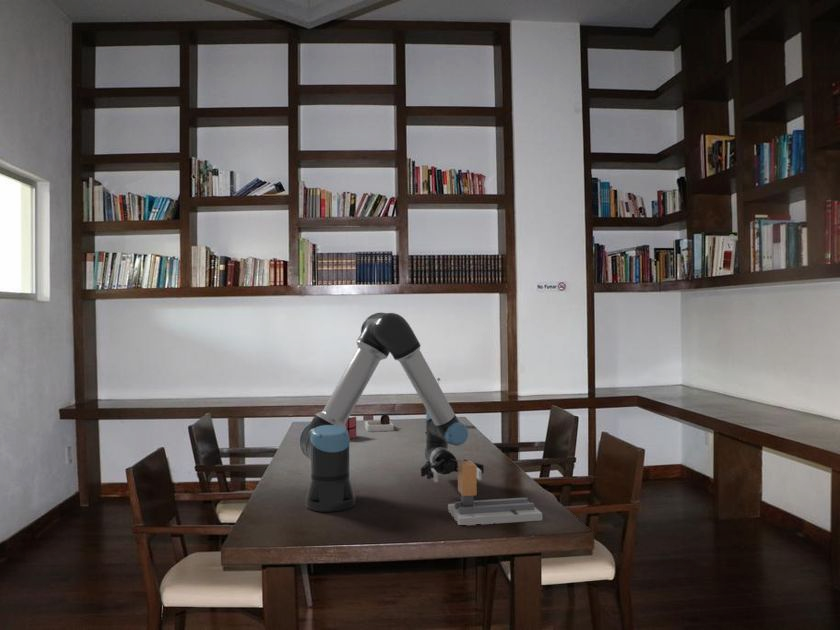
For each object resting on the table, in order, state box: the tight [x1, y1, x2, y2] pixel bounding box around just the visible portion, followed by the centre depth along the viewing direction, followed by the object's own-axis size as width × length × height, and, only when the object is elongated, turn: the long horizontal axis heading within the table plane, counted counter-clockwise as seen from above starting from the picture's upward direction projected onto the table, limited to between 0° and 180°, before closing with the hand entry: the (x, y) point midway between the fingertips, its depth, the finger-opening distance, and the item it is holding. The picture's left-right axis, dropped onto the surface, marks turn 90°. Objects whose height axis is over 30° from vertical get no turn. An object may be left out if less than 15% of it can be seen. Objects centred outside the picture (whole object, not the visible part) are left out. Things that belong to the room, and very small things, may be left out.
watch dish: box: [364, 420, 395, 433], centre depth 327 cm, size 13×13×3 cm
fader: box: [457, 460, 478, 507], centre depth 186 cm, size 4×6×13 cm
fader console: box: [447, 497, 543, 526], centre depth 187 cm, size 24×14×4 cm, turn 100°
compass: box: [379, 413, 391, 425], centre depth 326 cm, size 8×8×7 cm
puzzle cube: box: [345, 415, 357, 440], centre depth 303 cm, size 10×10×10 cm
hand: (458, 476), depth 196 cm, fingers open, 13 cm apart
